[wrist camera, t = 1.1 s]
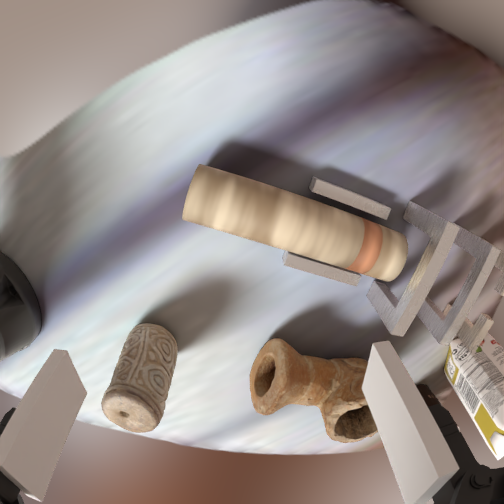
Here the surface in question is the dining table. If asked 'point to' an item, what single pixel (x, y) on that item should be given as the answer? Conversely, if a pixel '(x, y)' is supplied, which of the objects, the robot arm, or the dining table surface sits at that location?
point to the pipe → (313, 388)
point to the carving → (141, 379)
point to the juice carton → (480, 387)
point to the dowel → (293, 223)
